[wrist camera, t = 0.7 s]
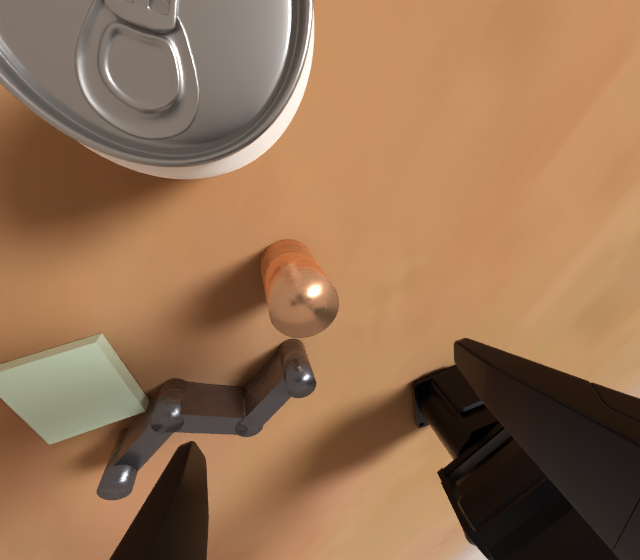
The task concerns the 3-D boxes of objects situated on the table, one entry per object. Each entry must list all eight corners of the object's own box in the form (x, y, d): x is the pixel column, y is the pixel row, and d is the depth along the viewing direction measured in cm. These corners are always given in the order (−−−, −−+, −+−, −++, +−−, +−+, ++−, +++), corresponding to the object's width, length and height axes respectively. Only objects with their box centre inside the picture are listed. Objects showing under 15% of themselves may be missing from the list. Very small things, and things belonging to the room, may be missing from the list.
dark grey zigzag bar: (314, 381, 25) (327, 419, 22) (126, 449, 23) (107, 504, 20) (300, 335, 23) (312, 370, 19) (90, 406, 21) (61, 460, 17)
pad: (149, 400, 22) (145, 411, 21) (57, 432, 21) (49, 444, 20) (102, 332, 19) (95, 342, 18) (-8, 366, 18) (-21, 378, 17)
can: (133, 142, 15) (-96, 143, 5) (134, -16, 13) (-308, -708, 2) (259, 171, 17) (296, 217, 7) (279, 39, 15) (383, -201, 4)
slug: (317, 279, 21) (344, 325, 16) (268, 294, 21) (280, 346, 16) (305, 232, 20) (331, 266, 14) (252, 248, 19) (259, 288, 14)
